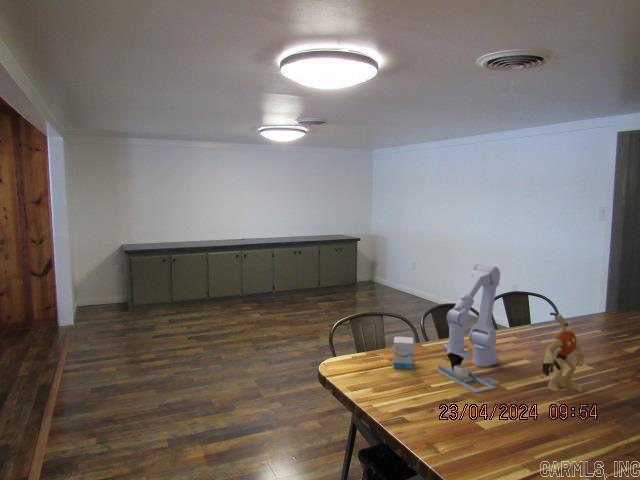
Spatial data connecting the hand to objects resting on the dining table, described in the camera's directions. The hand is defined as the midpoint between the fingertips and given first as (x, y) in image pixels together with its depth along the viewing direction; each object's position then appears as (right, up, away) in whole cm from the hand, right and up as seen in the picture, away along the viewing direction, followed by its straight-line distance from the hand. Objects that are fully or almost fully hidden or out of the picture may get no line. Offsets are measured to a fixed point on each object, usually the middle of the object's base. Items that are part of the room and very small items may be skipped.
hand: (455, 371), depth 179 cm
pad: (+11, -3, -6) cm, 13 cm away
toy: (+35, -4, -13) cm, 38 cm away
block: (+1, -1, -3) cm, 4 cm away
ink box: (-19, -2, +14) cm, 23 cm away
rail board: (+2, -3, -4) cm, 6 cm away
